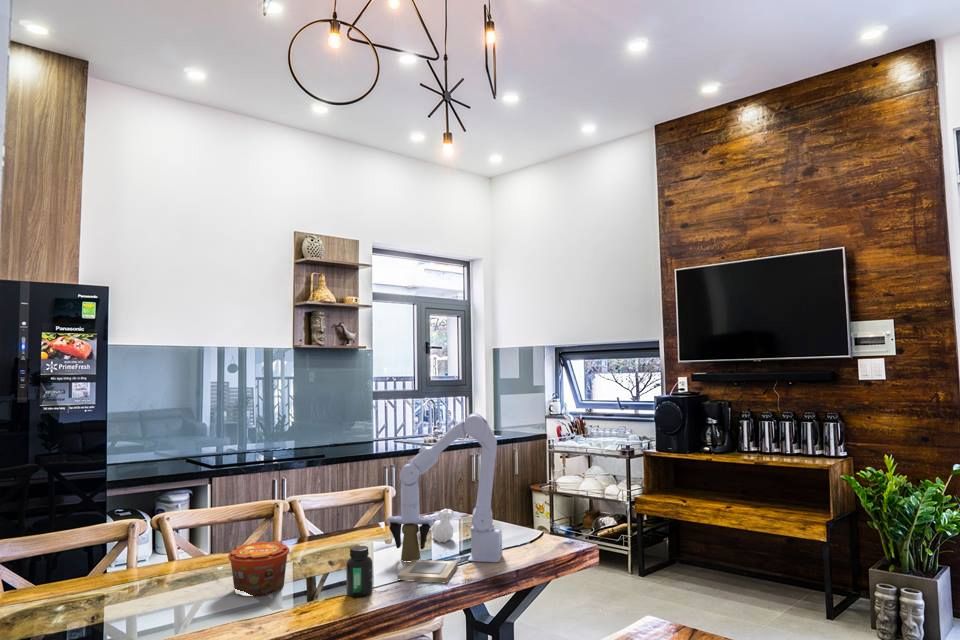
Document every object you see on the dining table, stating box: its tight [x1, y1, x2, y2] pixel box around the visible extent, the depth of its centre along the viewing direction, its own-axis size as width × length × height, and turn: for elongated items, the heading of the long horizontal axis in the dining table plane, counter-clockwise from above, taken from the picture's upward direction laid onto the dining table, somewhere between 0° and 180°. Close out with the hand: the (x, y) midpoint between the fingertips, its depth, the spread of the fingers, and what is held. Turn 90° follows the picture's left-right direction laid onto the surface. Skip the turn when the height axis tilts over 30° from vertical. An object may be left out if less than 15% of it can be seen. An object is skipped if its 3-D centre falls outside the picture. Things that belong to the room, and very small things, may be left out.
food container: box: [227, 541, 290, 597], centre depth 182 cm, size 16×16×11 cm
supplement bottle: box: [345, 545, 374, 599], centre depth 176 cm, size 7×7×12 cm
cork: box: [400, 523, 421, 562], centre depth 205 cm, size 6×6×11 cm
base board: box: [397, 559, 459, 584], centre depth 191 cm, size 14×14×2 cm
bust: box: [431, 508, 455, 544], centre depth 225 cm, size 12×8×11 cm
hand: (410, 547), depth 204 cm, fingers open, 7 cm apart
